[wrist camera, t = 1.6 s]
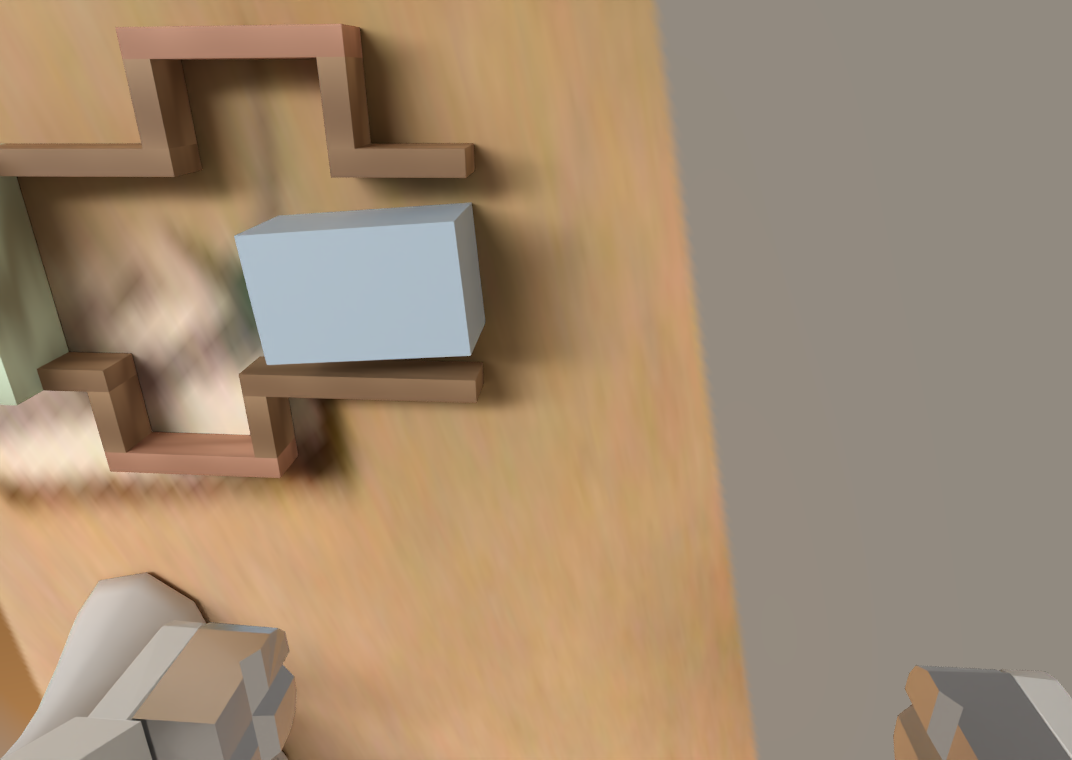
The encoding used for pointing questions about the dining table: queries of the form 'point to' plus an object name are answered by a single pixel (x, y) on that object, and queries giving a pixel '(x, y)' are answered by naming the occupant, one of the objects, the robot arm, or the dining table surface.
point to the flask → (105, 646)
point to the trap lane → (171, 150)
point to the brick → (365, 284)
